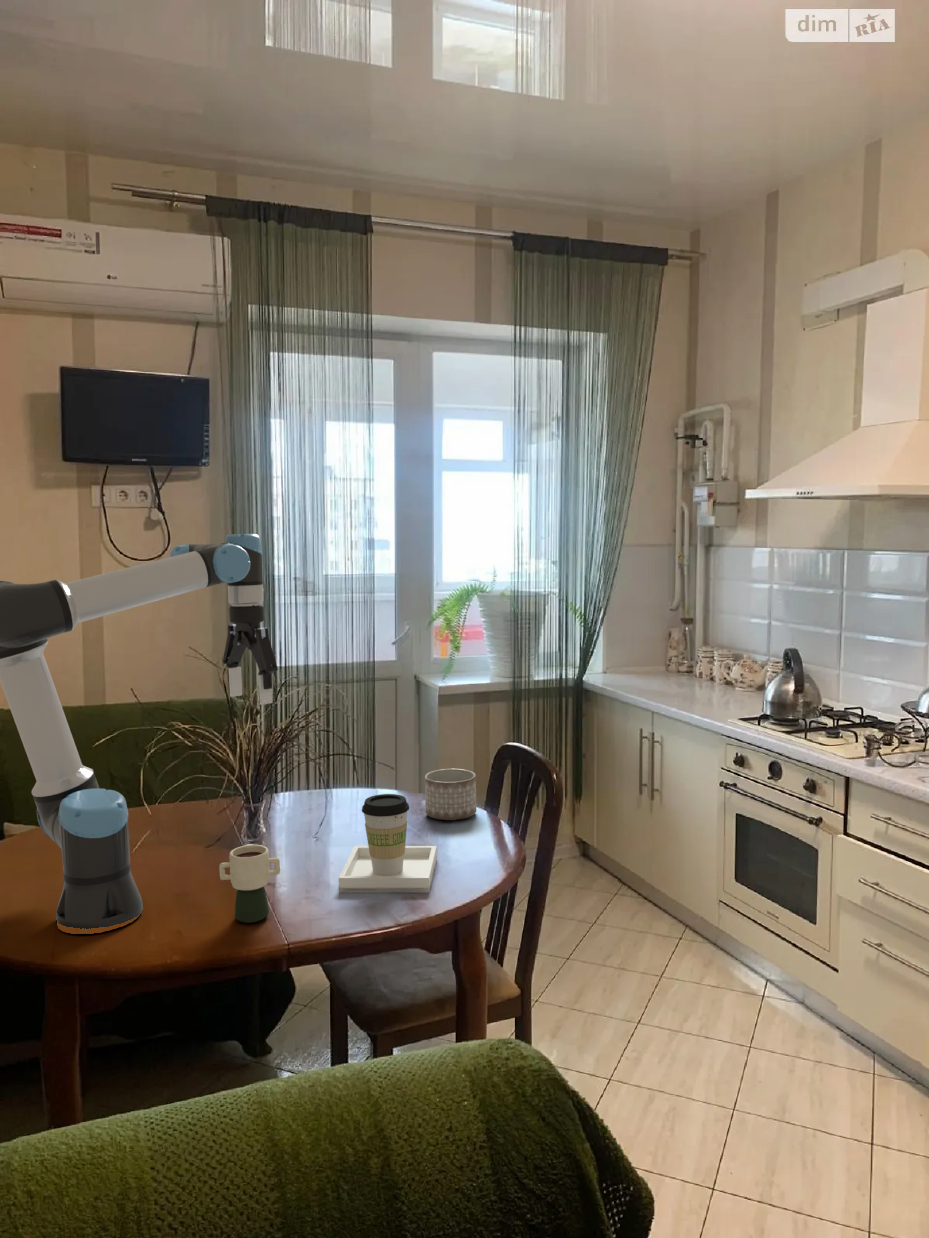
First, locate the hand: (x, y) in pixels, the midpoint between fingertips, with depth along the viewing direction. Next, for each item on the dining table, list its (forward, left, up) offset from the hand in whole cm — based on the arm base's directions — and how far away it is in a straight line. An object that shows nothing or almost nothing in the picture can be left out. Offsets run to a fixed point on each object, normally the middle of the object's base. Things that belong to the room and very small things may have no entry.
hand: (250, 699), depth 199 cm
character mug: (-35, -9, -35) cm, 50 cm away
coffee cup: (-14, -31, -34) cm, 48 cm away
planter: (+25, -42, -35) cm, 60 cm away
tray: (-14, -32, -35) cm, 49 cm away
